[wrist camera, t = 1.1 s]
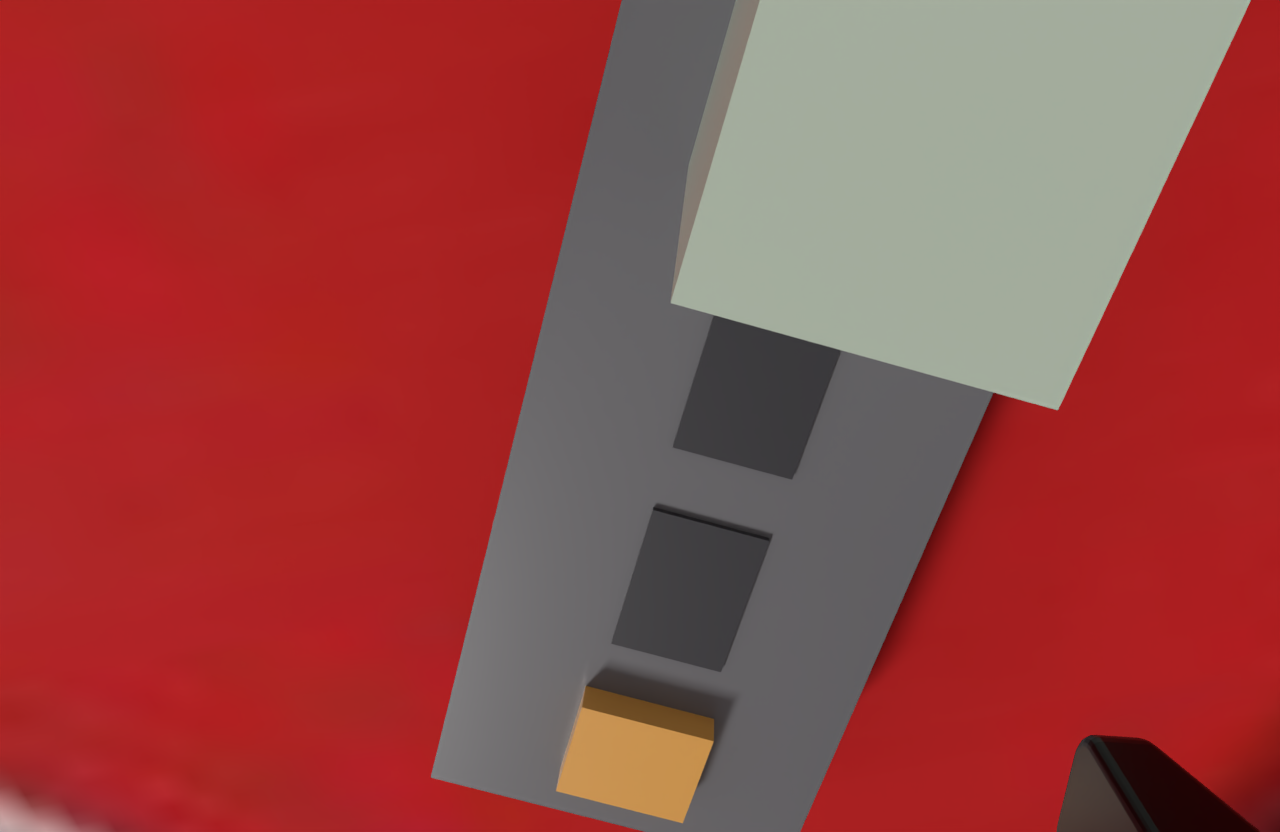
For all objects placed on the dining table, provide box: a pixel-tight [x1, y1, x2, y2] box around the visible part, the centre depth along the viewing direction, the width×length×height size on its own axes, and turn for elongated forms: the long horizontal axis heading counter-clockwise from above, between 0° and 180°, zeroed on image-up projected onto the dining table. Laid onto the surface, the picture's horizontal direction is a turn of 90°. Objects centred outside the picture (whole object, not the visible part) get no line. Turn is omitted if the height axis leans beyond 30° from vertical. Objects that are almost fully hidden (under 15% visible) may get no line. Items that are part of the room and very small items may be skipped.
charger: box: [671, 0, 1251, 410], centre depth 14 cm, size 4×5×8 cm
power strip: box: [431, 0, 993, 832], centre depth 19 cm, size 7×22×4 cm, turn 165°
